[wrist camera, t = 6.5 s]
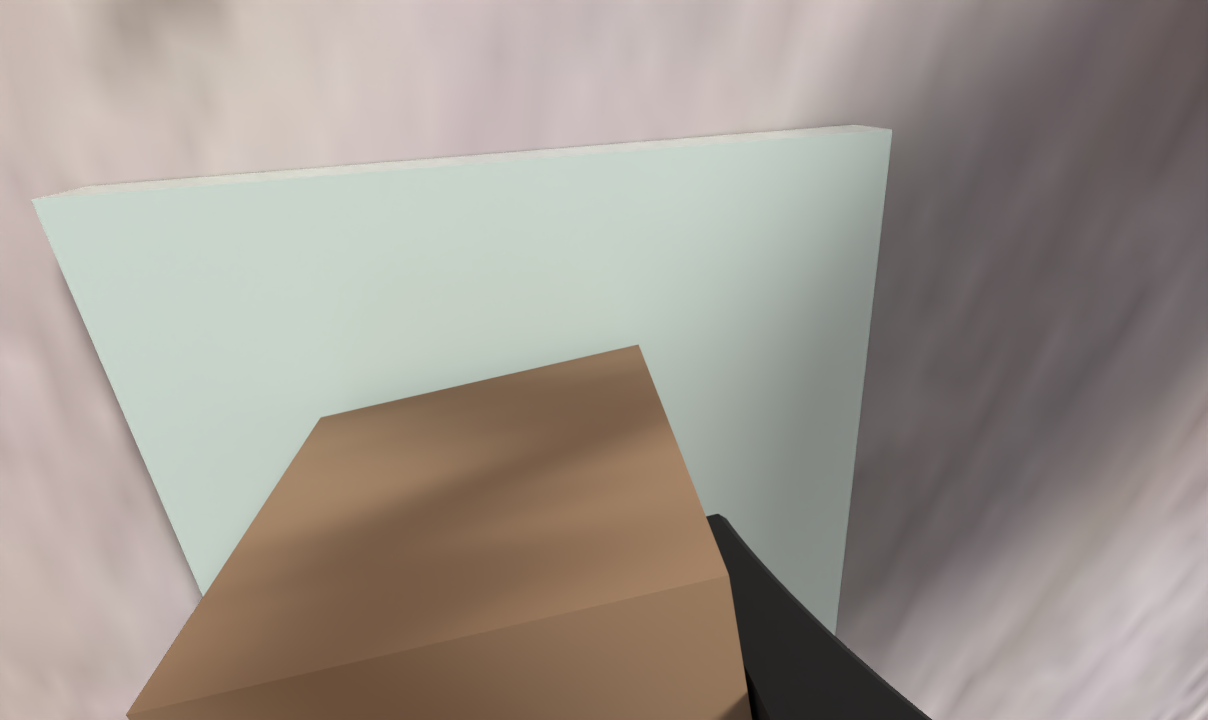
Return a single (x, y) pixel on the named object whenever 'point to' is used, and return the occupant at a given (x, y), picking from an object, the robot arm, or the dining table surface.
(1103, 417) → the dining table surface
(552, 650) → the walnut cube
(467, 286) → the sage tile
